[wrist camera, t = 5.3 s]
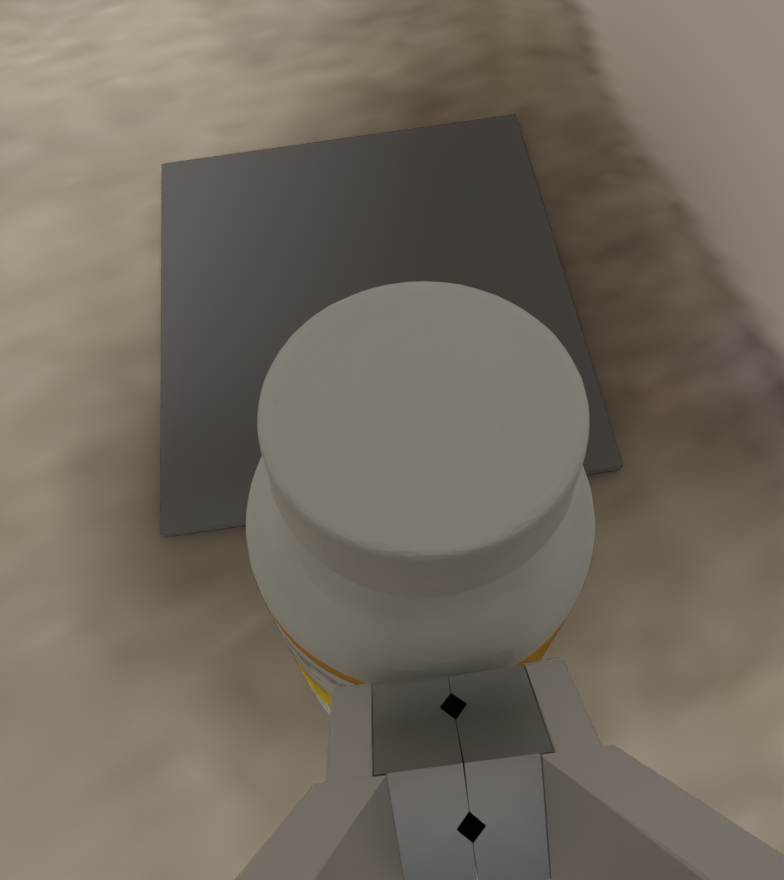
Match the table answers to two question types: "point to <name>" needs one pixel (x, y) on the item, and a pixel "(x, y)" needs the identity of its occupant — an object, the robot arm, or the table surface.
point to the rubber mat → (332, 278)
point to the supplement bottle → (420, 487)
